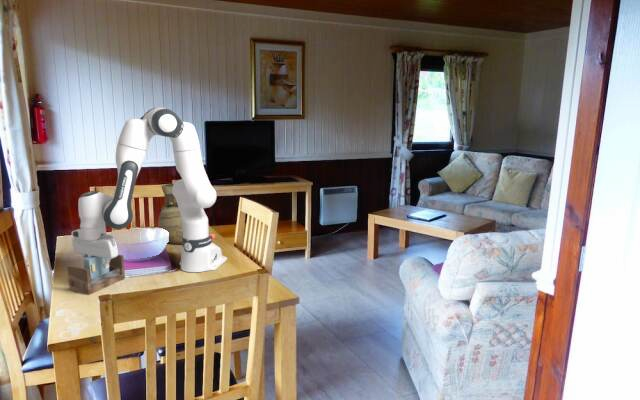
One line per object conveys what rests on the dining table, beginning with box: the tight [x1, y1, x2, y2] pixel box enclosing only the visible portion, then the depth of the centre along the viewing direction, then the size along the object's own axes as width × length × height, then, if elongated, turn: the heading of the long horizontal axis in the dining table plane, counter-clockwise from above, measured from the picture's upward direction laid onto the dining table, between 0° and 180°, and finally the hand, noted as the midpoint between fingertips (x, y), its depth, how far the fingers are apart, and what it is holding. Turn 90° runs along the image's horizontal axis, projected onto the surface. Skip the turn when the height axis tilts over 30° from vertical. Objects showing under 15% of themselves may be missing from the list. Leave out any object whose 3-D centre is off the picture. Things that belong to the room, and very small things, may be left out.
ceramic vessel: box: [158, 183, 183, 245], centre depth 239 cm, size 19×21×30 cm
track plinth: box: [66, 254, 126, 296], centre depth 183 cm, size 18×10×10 cm, turn 158°
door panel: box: [82, 255, 109, 280], centre depth 182 cm, size 9×4×10 cm, turn 158°
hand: (97, 266), depth 182 cm, fingers open, 8 cm apart
